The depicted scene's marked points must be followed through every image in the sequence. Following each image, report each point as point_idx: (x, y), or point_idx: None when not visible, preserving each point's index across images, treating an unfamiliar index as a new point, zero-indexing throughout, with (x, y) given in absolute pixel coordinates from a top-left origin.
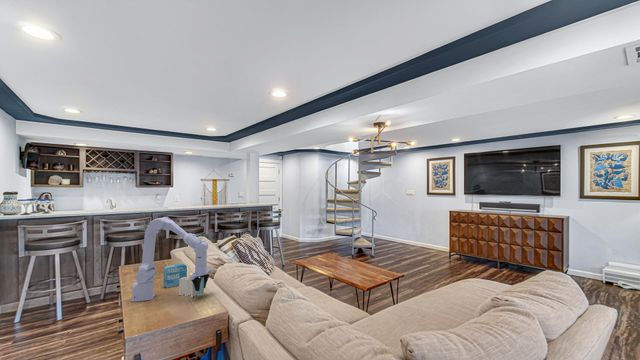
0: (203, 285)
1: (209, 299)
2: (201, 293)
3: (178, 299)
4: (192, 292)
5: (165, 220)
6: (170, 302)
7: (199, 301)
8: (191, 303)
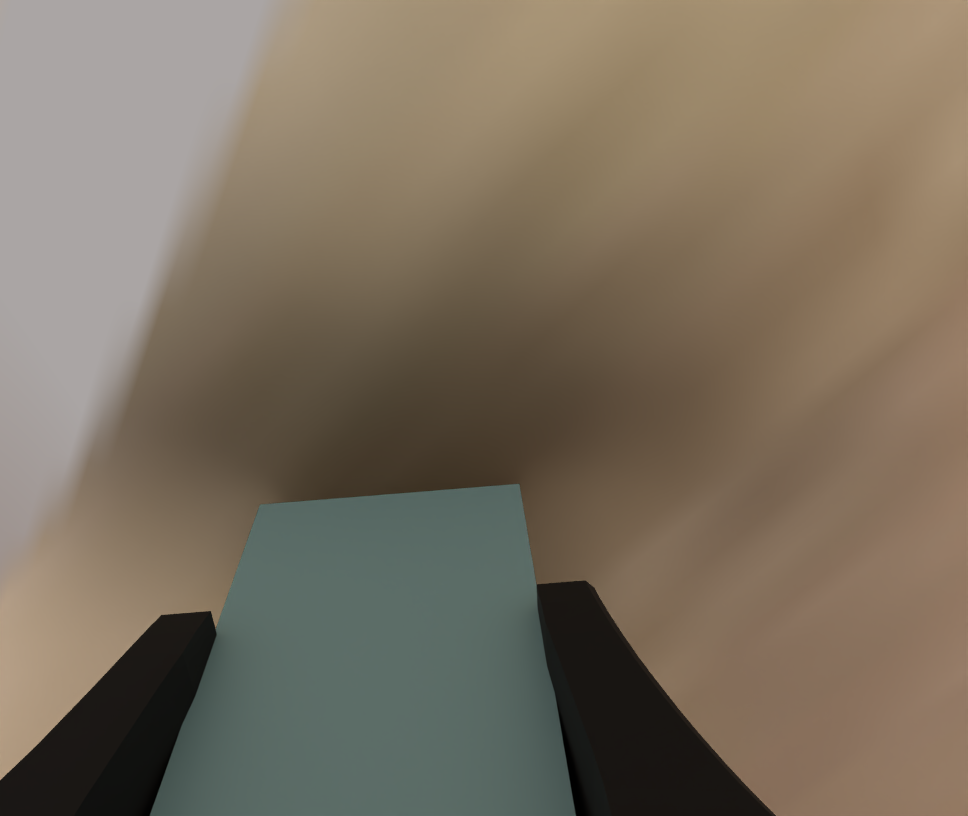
0: (209, 739)
1: (437, 15)
2: (372, 520)
3: None
4: None
5: None
6: (946, 798)
7: (719, 224)
8: (925, 332)
